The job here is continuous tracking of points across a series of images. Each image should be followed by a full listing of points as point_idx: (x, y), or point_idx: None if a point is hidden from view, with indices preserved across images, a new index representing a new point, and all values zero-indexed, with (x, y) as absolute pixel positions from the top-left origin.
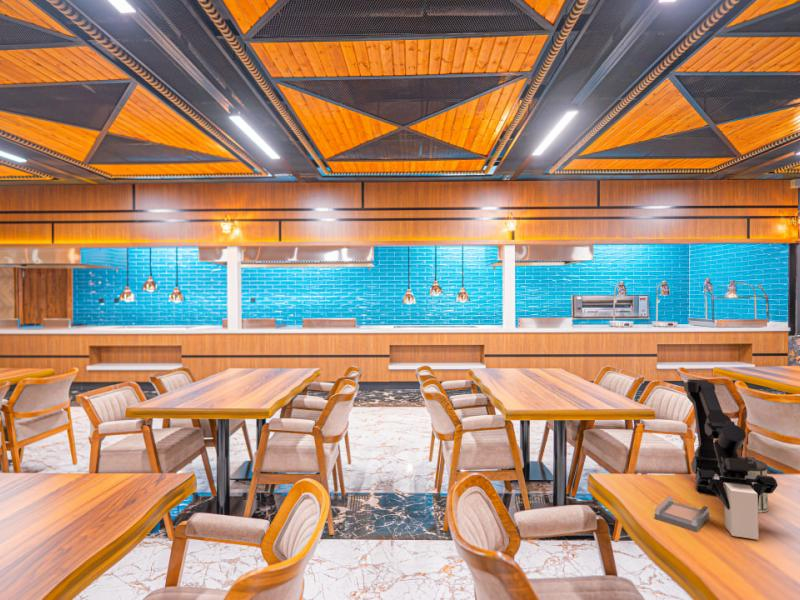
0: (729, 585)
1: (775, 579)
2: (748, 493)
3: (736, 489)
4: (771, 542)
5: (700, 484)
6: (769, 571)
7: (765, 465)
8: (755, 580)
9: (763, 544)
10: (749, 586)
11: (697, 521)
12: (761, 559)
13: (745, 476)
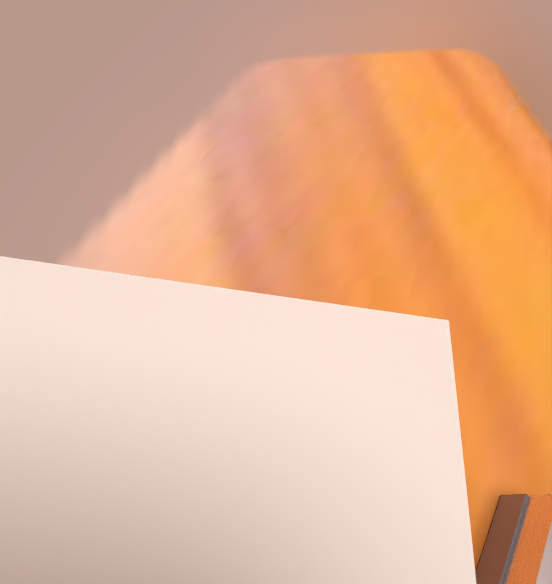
0: (438, 76)
1: (269, 113)
2: (63, 271)
3: (272, 451)
4: None
5: None
6: (262, 153)
7: None
8: (345, 102)
9: None
10: (378, 76)
11: (540, 526)
12: (242, 232)
13: None
